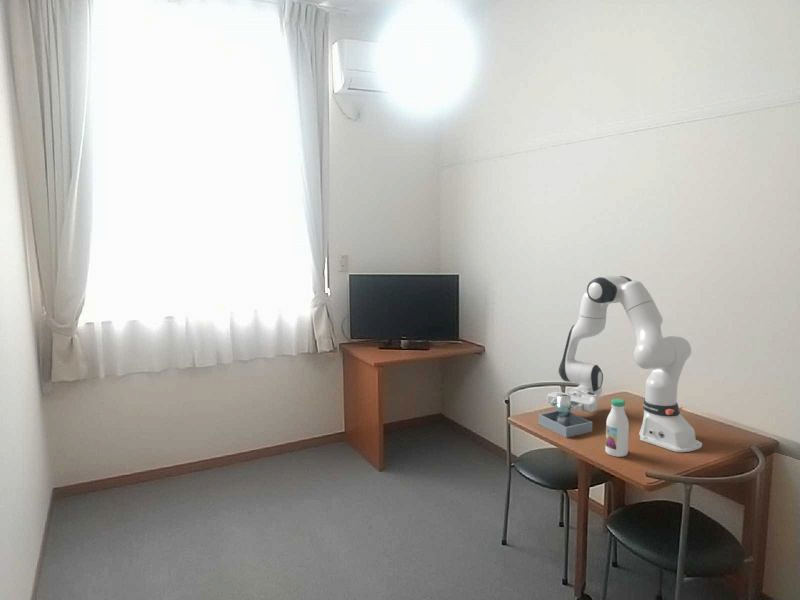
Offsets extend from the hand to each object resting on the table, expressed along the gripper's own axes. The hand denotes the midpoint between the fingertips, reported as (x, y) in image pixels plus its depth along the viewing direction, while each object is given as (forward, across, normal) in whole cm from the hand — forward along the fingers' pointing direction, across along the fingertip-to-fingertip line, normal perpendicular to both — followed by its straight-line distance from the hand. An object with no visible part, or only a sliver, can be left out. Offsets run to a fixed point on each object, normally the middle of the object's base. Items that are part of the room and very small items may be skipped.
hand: (562, 406), depth 229 cm
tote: (+1, +2, +9) cm, 9 cm away
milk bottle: (+11, +27, +9) cm, 31 cm away
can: (-1, 0, +8) cm, 8 cm away
